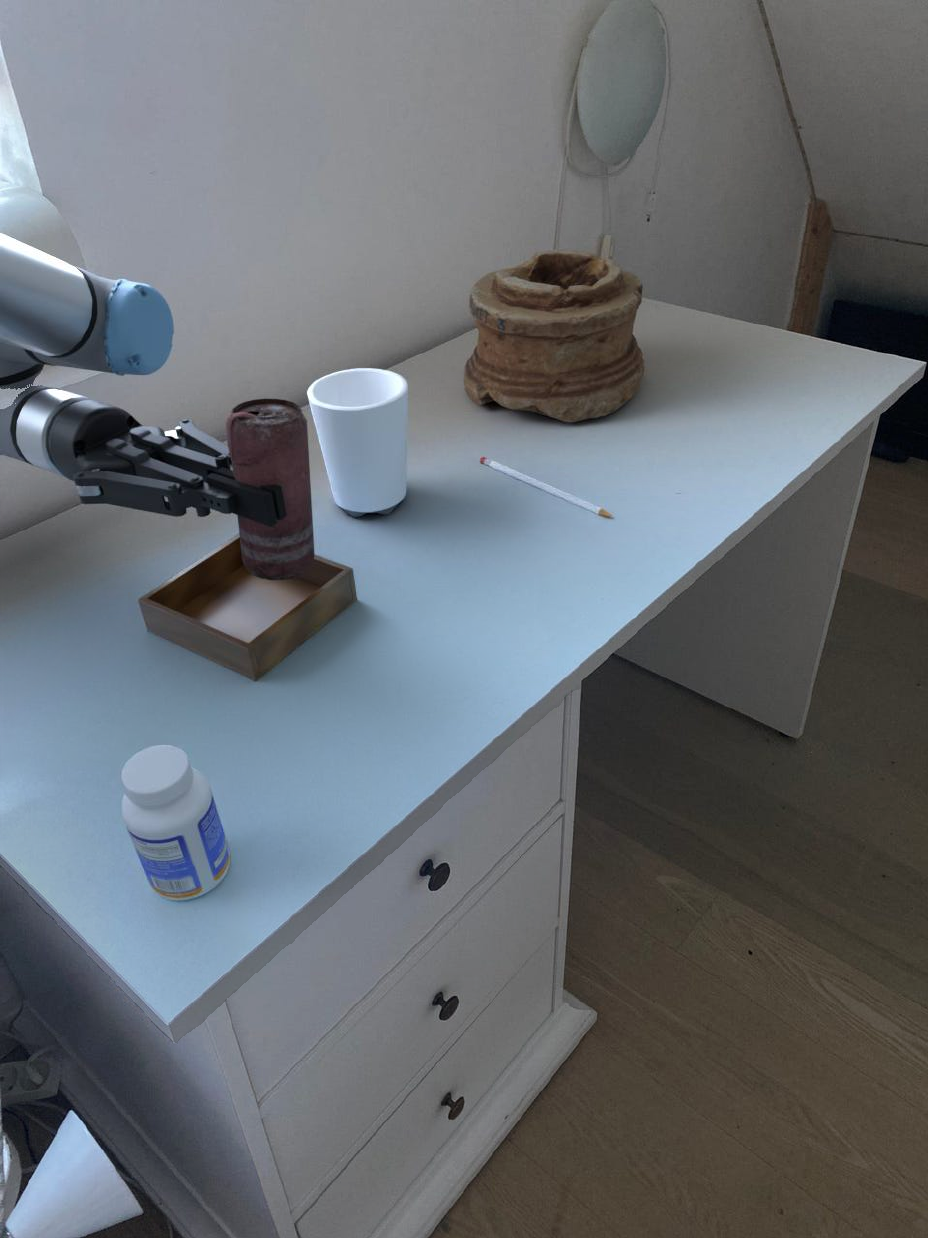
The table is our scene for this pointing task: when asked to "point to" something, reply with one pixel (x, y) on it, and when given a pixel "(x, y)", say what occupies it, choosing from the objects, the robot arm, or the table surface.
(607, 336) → the container
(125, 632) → the table surface
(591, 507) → the pencil
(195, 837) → the pill bottle
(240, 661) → the tray
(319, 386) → the cup
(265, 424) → the can
